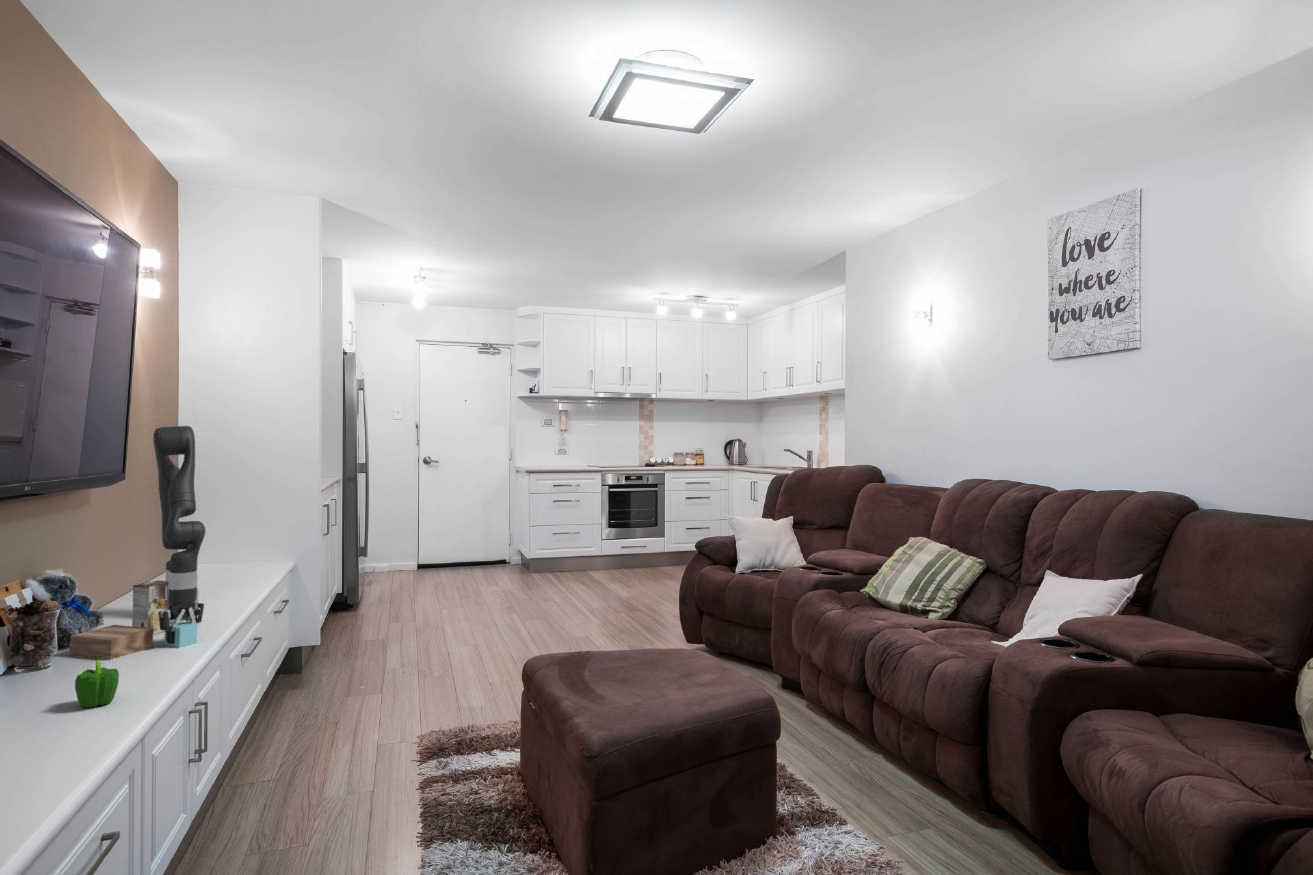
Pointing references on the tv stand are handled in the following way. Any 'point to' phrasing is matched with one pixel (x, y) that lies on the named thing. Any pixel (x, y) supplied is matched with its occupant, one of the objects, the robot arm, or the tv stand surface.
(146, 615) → the coffee box
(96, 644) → the walnut block
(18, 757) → the tv stand surface
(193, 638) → the teal cube
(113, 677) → the bell pepper
